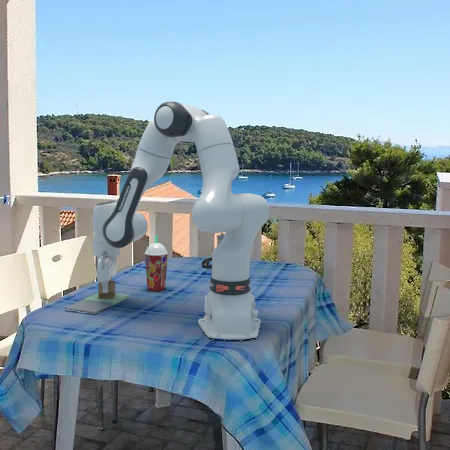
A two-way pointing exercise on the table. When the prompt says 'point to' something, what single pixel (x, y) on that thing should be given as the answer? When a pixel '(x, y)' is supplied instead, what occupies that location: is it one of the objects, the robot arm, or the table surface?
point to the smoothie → (156, 266)
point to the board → (96, 303)
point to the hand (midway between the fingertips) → (107, 289)
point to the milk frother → (206, 261)
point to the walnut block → (110, 291)
